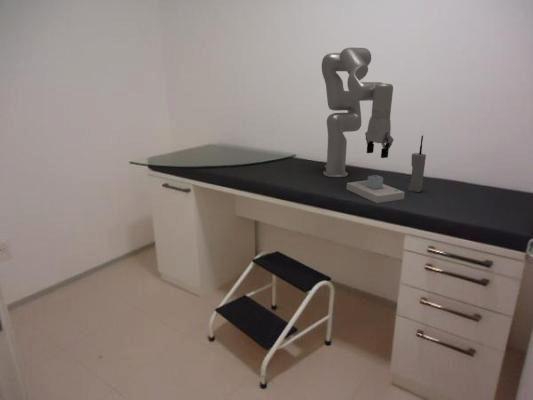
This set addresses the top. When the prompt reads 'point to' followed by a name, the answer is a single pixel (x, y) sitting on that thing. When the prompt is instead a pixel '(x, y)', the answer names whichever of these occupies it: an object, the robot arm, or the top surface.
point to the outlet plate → (375, 192)
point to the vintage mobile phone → (417, 170)
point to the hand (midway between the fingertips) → (376, 155)
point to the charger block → (375, 182)
